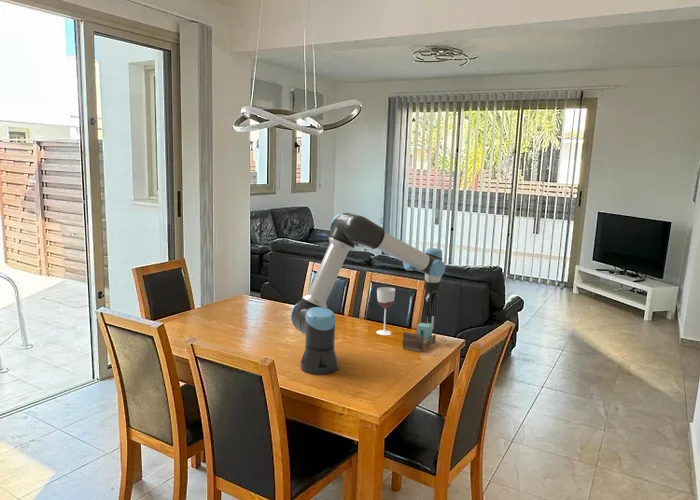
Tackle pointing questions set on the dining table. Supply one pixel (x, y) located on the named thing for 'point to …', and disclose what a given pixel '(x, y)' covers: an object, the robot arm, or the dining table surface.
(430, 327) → the block
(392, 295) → the wineglass
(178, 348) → the dining table surface
